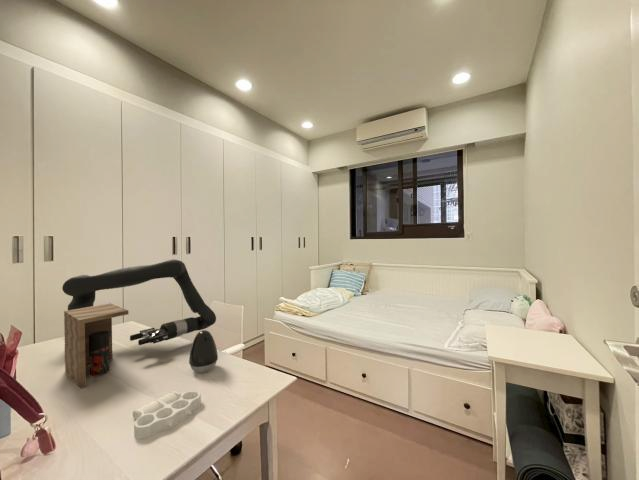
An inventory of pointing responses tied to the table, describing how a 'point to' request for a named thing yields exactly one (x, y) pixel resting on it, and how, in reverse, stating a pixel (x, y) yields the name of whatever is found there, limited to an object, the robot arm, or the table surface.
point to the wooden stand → (86, 336)
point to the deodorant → (99, 353)
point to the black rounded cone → (203, 352)
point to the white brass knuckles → (164, 412)
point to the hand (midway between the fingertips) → (134, 340)
